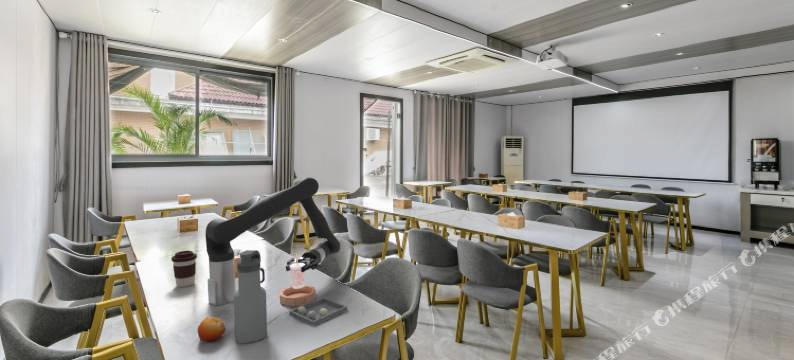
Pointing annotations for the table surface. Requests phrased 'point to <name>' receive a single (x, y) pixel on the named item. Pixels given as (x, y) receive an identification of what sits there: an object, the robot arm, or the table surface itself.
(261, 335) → the water bottle
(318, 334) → the table surface
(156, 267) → the table surface
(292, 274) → the beverage cup
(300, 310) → the pebble
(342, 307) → the tray
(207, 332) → the fruit
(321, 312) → the pebble
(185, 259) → the coffee cup
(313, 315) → the pebble
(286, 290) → the bowl
